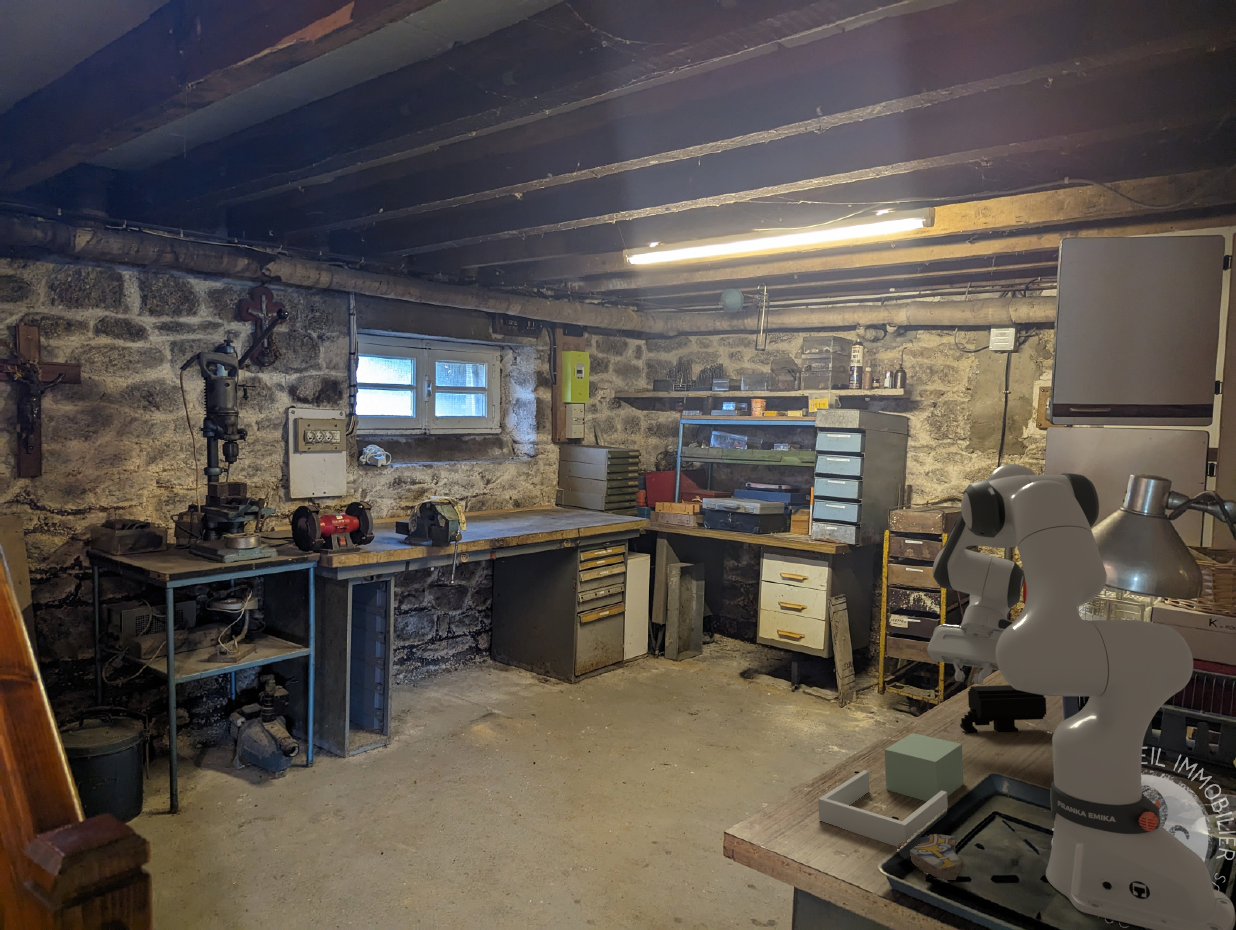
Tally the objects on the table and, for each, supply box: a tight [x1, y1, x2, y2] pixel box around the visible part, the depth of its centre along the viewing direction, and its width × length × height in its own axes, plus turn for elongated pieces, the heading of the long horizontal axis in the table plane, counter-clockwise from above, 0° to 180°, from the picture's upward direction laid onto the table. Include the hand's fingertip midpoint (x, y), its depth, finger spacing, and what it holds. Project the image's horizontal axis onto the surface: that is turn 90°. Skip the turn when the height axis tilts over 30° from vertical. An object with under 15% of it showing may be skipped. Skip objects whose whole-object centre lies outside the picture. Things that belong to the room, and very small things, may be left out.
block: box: [884, 732, 965, 802], centre depth 150 cm, size 10×12×8 cm
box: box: [817, 769, 949, 848], centre depth 138 cm, size 16×17×4 cm
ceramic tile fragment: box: [895, 833, 963, 881], centre depth 121 cm, size 12×3×10 cm
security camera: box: [959, 684, 1047, 734], centre depth 179 cm, size 7×18×10 cm, turn 88°
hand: (967, 681), depth 167 cm, fingers open, 3 cm apart
